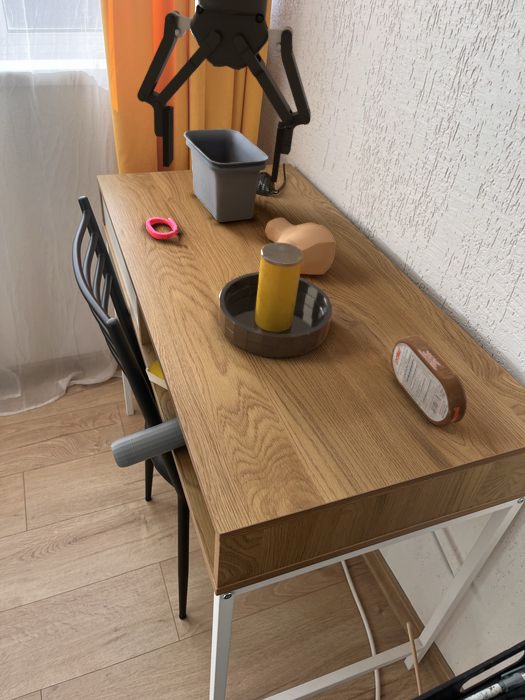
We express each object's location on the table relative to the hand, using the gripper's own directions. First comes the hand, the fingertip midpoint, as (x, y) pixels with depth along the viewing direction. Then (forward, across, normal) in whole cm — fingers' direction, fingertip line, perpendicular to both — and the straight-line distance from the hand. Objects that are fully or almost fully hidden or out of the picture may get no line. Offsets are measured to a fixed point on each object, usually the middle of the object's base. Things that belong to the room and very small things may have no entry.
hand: (221, 171), depth 67 cm
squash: (+27, -12, -30) cm, 42 cm away
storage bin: (+28, +5, -50) cm, 57 cm away
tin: (+27, -32, +8) cm, 43 cm away
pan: (+27, -10, -7) cm, 30 cm away
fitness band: (+28, +16, -34) cm, 47 cm away
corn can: (+27, -10, -7) cm, 29 cm away
